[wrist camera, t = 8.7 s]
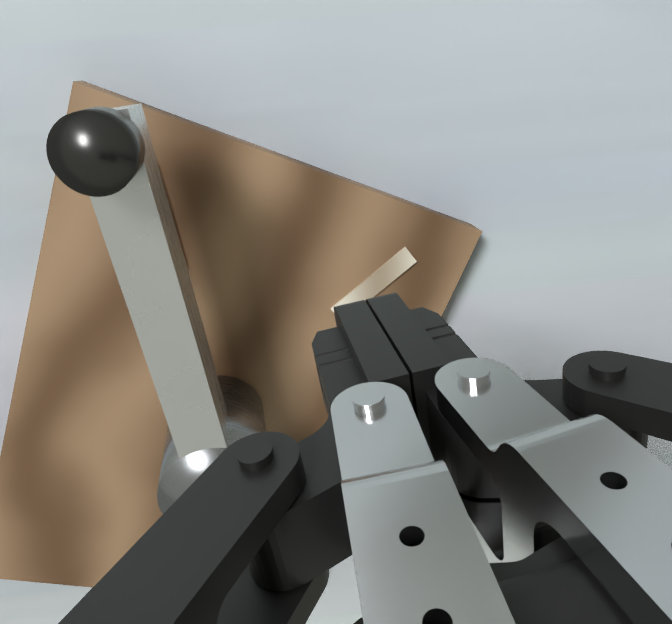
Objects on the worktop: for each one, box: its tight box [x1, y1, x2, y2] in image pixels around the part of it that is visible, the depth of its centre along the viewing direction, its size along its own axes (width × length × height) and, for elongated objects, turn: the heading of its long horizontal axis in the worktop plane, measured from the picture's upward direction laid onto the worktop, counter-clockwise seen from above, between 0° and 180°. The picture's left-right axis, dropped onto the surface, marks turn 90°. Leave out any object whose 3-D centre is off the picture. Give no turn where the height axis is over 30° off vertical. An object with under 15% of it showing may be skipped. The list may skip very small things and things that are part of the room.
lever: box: [46, 103, 266, 514], centre depth 22 cm, size 19×5×8 cm, turn 8°
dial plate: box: [0, 81, 482, 587], centre depth 30 cm, size 20×28×2 cm
